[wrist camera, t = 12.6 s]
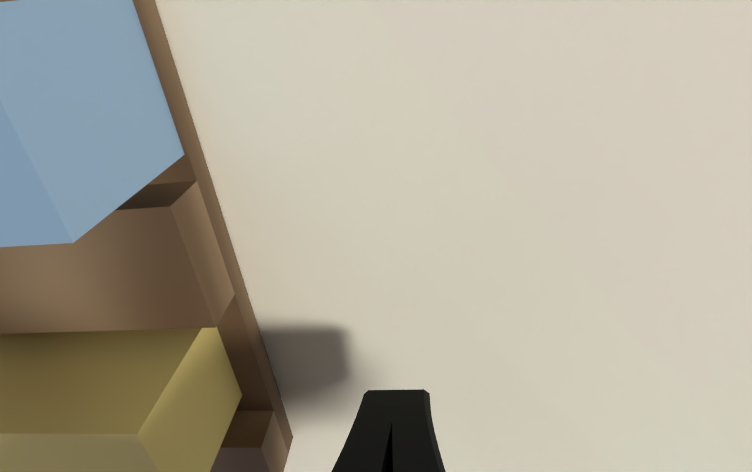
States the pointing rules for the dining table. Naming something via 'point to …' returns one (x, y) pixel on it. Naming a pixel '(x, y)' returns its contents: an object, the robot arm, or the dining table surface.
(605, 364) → the dining table surface
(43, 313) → the comb board
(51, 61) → the stick blue
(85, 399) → the stick ochre
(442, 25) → the dining table surface
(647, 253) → the dining table surface
